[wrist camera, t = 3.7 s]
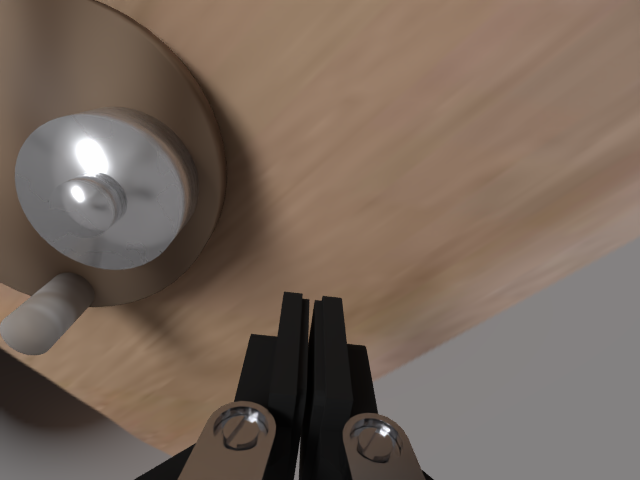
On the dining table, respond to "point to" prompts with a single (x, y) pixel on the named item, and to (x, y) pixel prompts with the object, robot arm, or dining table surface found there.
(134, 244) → the lid
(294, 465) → the robot arm
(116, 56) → the turntable
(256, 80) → the dining table surface
